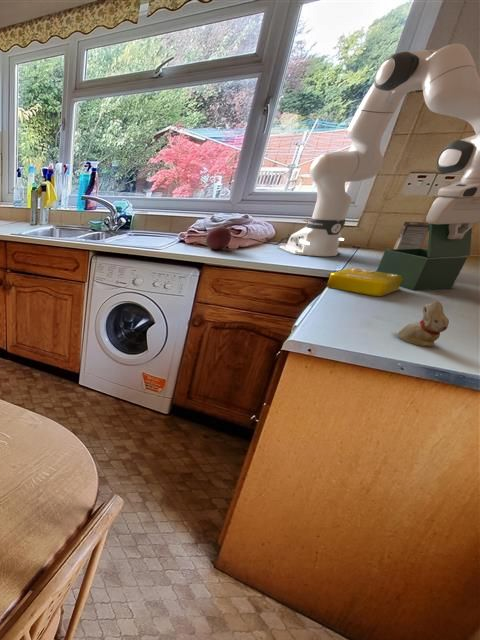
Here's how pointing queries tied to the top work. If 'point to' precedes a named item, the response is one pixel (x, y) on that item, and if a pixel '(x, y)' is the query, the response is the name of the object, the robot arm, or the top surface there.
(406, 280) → the green hinged box
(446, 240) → the lid
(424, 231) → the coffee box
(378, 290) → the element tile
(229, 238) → the decorative ball
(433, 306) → the chocolate bunny
